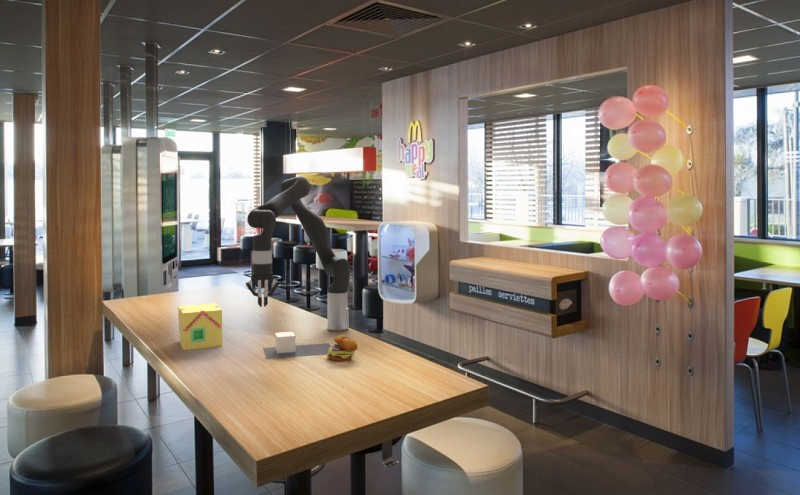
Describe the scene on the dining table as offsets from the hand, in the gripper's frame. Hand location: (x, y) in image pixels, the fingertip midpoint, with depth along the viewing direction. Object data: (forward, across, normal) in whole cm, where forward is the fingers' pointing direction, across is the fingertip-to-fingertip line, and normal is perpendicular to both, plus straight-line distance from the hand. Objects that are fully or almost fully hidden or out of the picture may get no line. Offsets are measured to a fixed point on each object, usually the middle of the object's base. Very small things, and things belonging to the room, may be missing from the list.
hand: (262, 306), depth 225 cm
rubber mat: (+19, -14, 0) cm, 24 cm away
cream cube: (+19, -8, 0) cm, 21 cm away
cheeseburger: (+19, -28, +14) cm, 37 cm away
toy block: (+19, +24, -23) cm, 38 cm away
